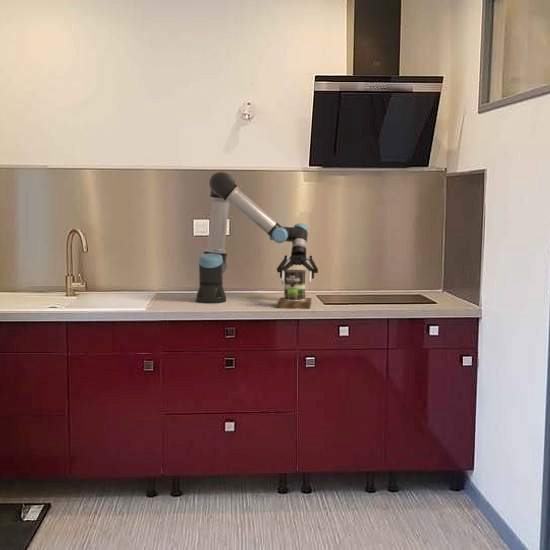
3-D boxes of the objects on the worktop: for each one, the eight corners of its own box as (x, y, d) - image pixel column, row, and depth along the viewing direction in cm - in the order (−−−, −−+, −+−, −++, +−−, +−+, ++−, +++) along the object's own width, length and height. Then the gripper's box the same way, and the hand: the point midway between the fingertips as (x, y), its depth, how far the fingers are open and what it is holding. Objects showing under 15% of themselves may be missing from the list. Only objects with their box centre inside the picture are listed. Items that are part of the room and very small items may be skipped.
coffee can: (302, 301, 339) (303, 272, 338) (281, 301, 342) (281, 271, 341) (307, 298, 349) (307, 269, 348) (287, 298, 352) (287, 269, 350)
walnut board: (277, 308, 340) (277, 301, 339) (280, 303, 354) (280, 297, 354) (309, 308, 338) (309, 302, 338) (311, 303, 353) (311, 297, 353)
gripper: (324, 254, 366) (322, 288, 353) (275, 254, 369) (271, 287, 356) (323, 245, 360) (321, 278, 347) (273, 244, 363) (270, 277, 350)
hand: (296, 283), depth 351 cm, fingers open, 13 cm apart
